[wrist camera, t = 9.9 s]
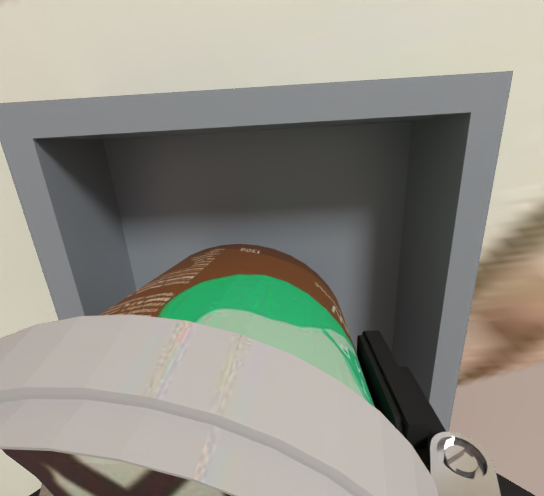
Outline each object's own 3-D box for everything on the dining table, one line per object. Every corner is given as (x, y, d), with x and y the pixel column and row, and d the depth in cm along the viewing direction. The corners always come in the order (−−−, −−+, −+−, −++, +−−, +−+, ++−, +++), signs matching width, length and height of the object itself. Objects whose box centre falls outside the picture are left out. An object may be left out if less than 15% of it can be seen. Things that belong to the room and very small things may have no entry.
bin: (427, 96, 13) (513, 71, 9) (394, 426, 19) (433, 517, 15) (87, 116, 14) (-12, 104, 9) (161, 434, 20) (126, 526, 15)
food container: (410, 391, 15) (589, 819, 6) (297, 425, 16) (286, 807, 7) (299, 158, 12) (277, 234, 2) (171, 226, 13) (-147, 435, 4)
